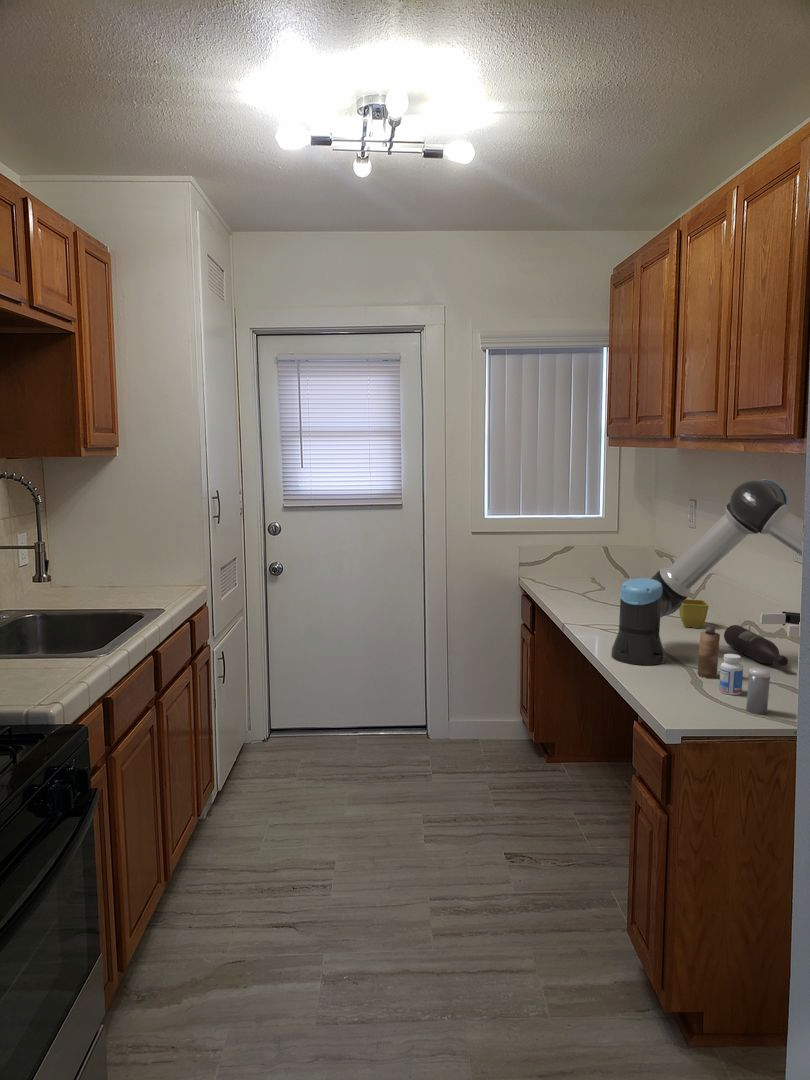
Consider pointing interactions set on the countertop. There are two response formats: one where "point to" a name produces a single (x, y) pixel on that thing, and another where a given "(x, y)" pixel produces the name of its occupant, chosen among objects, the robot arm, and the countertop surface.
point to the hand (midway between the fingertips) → (773, 624)
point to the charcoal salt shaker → (758, 690)
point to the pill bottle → (731, 675)
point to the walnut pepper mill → (708, 653)
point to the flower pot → (693, 613)
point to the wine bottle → (753, 645)
